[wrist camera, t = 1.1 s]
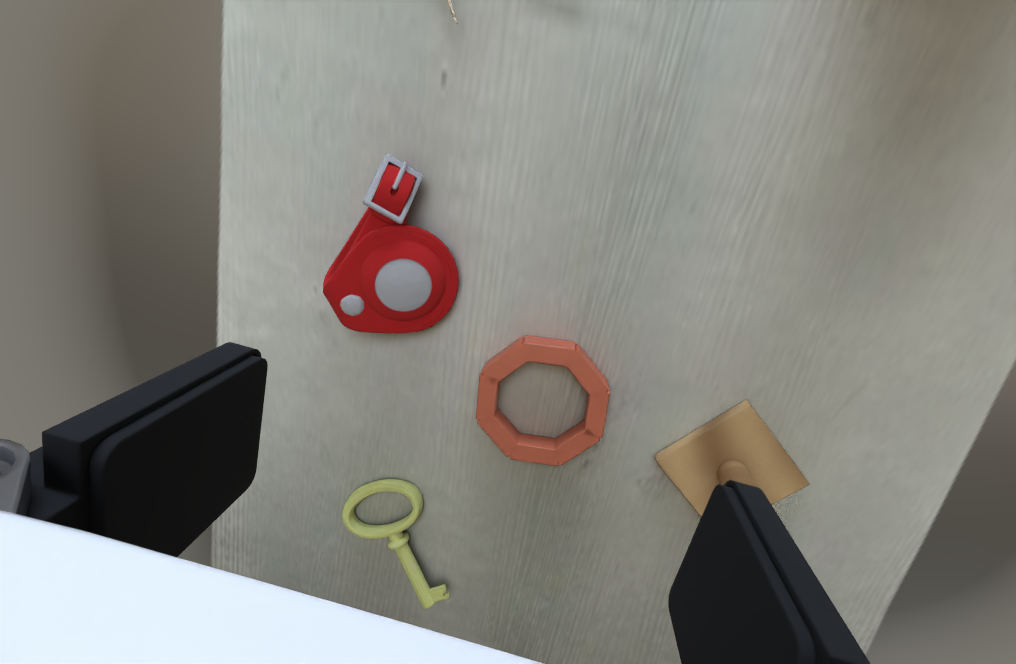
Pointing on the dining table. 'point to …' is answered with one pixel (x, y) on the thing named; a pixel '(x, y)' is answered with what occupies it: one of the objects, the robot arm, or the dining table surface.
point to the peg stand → (731, 458)
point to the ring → (531, 445)
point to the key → (395, 533)
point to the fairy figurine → (452, 10)
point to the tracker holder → (391, 263)
